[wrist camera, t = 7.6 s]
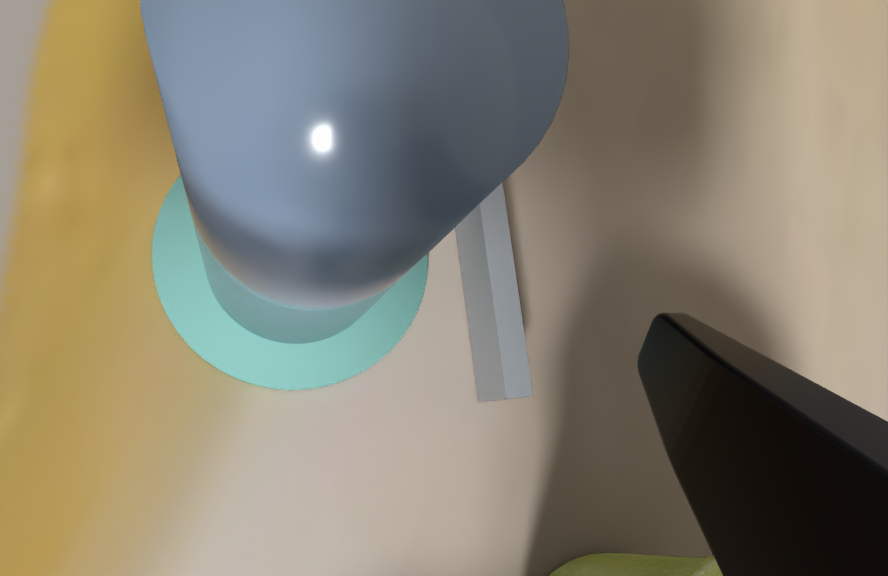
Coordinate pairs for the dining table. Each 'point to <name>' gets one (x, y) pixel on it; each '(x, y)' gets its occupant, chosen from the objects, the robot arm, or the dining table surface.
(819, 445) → the robot arm
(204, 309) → the coaster
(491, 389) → the acrylic wall
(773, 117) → the dining table surface
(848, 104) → the dining table surface
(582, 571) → the plant pot
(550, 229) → the dining table surface
